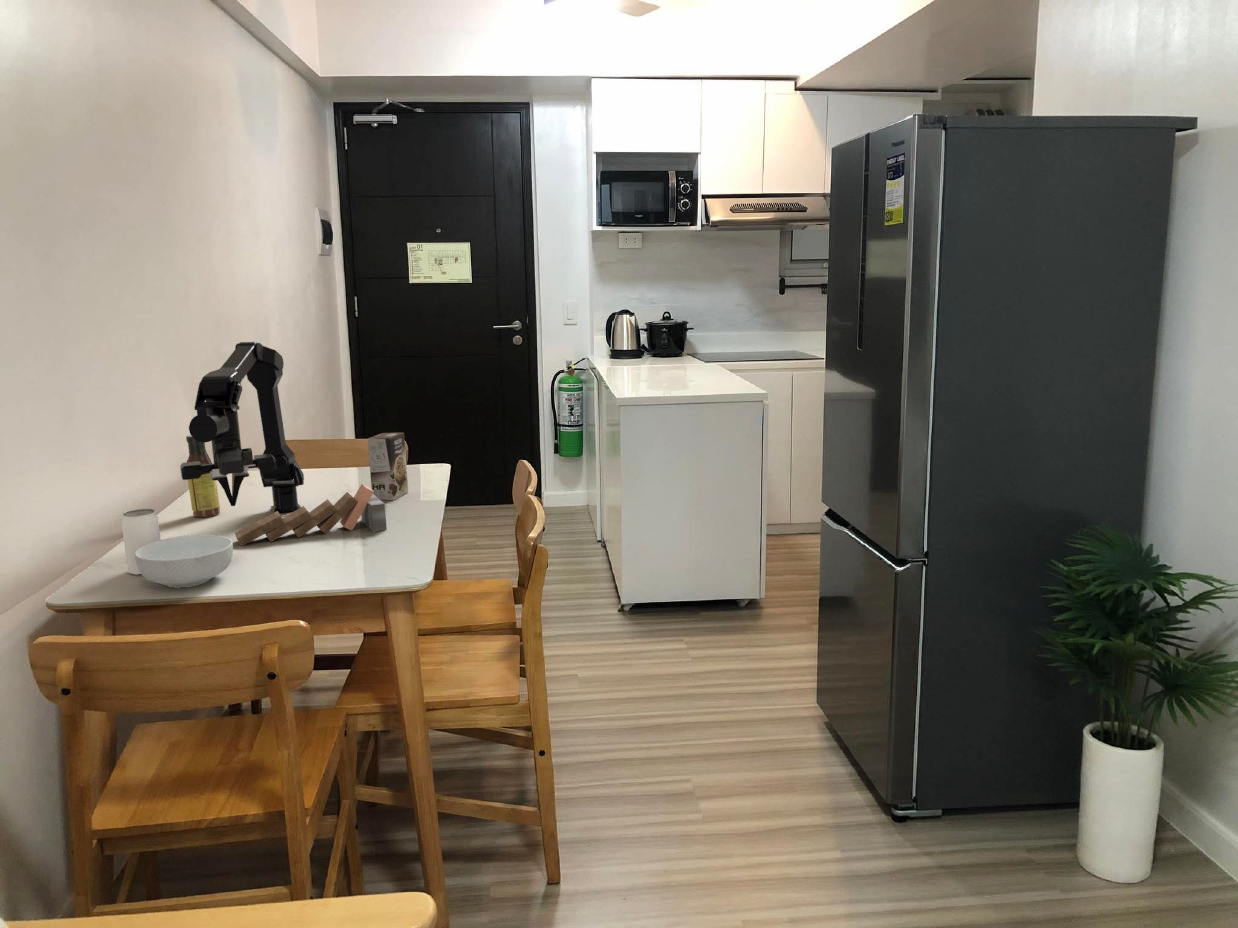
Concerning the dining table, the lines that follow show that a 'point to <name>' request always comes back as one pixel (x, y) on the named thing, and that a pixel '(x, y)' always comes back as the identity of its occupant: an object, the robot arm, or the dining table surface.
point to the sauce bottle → (202, 483)
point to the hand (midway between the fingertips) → (233, 505)
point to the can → (138, 533)
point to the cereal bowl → (184, 559)
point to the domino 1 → (259, 528)
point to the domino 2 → (290, 523)
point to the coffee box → (388, 465)
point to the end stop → (374, 514)
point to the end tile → (357, 507)
